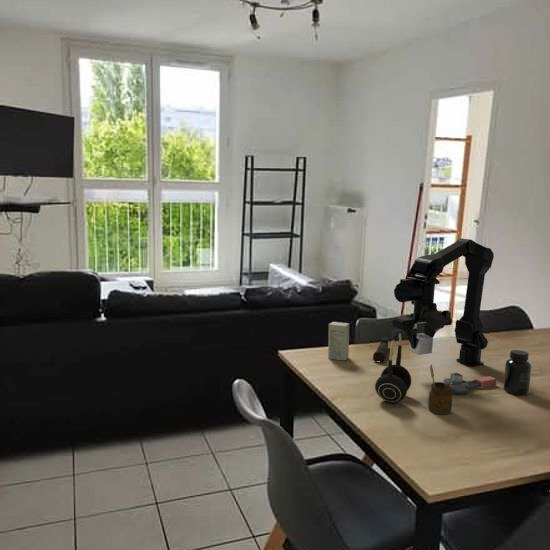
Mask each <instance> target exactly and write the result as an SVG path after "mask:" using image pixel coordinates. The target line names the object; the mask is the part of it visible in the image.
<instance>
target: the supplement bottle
mask: <svg viewBox="0 0 550 550" xmlns="http://www.w3.org/2000/svg"><path fill="white" fill-rule="evenodd" d="M528 360H529V352H528V351H524V350H520V349H512V350H510V353H509V359H507V360H506V362H505V366H504V368H505V369H504V378H503V379H504V380H503V390H504V391H505V392H506V393H508V394H511V395H515V396H526V395H528V394H529V392H530V386H531V385H530V384H531V383H530V382H531V374H532V373H531V372H532V364H531V363H530V361H528Z"/></svg>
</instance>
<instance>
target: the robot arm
mask: <svg viewBox="0 0 550 550" xmlns="http://www.w3.org/2000/svg"><path fill="white" fill-rule="evenodd" d="M494 256H495V255H494V252H493V251H492V249H491V248H490V247H486V246H485V245H481V244H479V243H477V242H476V241H475V240H473V239H468V238H459V239H457V240H456V241H455V242H453V243H452V244H450V245H448V246H446V247H445V248H443V249H441V250H439V251H437V252H435V253H433V254H425V255H422V256H418V257H417V258H416V259H414V262H413V263H412V266H411V268H410V269H409V271H408V272H407V274H406V276H405V278H400V279H399V283H397V284H396V286H395V288H394V289H393V294H394V297H395V300H397V302H399V303H408V302H411V305H413V312H412V313H410V318H409V317H407V316H405V315H402V316H401V315H400V316H395V317H393V318H392V323H391V324H392V327H395V328H396V329H400V330H401V331H404V332H405V334H406V336H407V338H408V343H409V342H410V344H411V347H412V349H415V347H416V338H417V334H419V332H420V331H421V329H419V328H418V325H423V328H424V331H423V332H424V334H426V335H428V336H430V337H433V338H434V337H435V336H436V333H437V332H438V331H439V330H442V329H444V328H445V326H446V327H447V326H452V325H453V324H452V323H453V322H452V321H453V319H452V317H451V315H452V314H451V312H450V310H448V309H447V310H438V309H437V308H438V307H437V306H438V305H437V303H436V302H435V289H436V288H435V287H436V285H439V284H441V282H440V280H439V279H438V278H437V277H438V276H439V275H440V274H442V272H444V268H445V267H446V266H448V265H450V264H451V263H453V262H454V261H456V260H458V259H459V258H461V257H464V265H465V268H466V270H467V271H468V276H467V283H466V293H465V299H464V308H463V314H462V316H461V317H460V318H459V319H456V320H455V327H454V334H455V338H456V339H455V340H456V344H460V349H459V358H456V360H455V361H457V362H458V363H461V364H463V365H465V366H468V367H474V366H475V367H476V366H481V365H484V363H485V362H483V361H482V360H481V359H482V350H485V349H486V348H487V346H488V344H489V341H488V339H487V338H486V336H485V335H484V332H483V331H484V326H483V323H482V321H481V318H480V313H481V305H482V298H483V291H484V283H485V276H486V274H487V272H488V271H489V270H490V269H491V268H492V265H493V261H494Z"/></svg>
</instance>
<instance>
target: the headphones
mask: <svg viewBox="0 0 550 550" xmlns="http://www.w3.org/2000/svg"><path fill="white" fill-rule="evenodd" d="M397 338H398V346H397V354H396V360H395V364H393V354H394V353H393V351H394V348H395V347H394V346H395V342H396V340H397ZM402 345H403V344H402V330H401V329H399V328H395V329H393V330H392V334H391V344H390V350H389V355H388V357H389V358H388V364H387V365H388V366H387V367H385V368H384V369H383V371H382V372H381V374H380V377H378V378H377V379H376V382H375V385H374V390H375V392H376V394H377V395H378V397H380V398H381V399H382V400H384V401H386V402H388V403H399V402H402V401H403V400H404V399H405V398H406V397H407V393H408V391H409V389H410V387H411V385H412V377H411V373H410V372H409V371H408V369H407V368H405V366H403V365H401V363H402V347H403V346H402Z"/></svg>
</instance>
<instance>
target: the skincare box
mask: <svg viewBox="0 0 550 550" xmlns="http://www.w3.org/2000/svg"><path fill="white" fill-rule="evenodd" d="M349 347H350V323H348V322H341V321H340V322H339V321H332V322H330V323H328V347H327V348H328V349H327V351H328V352H327V353H328V357H327V358H328V359H329V360H330V359H331V360H336V361H346V360H348V358H349V351H350V350H349V349H350V348H349Z"/></svg>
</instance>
